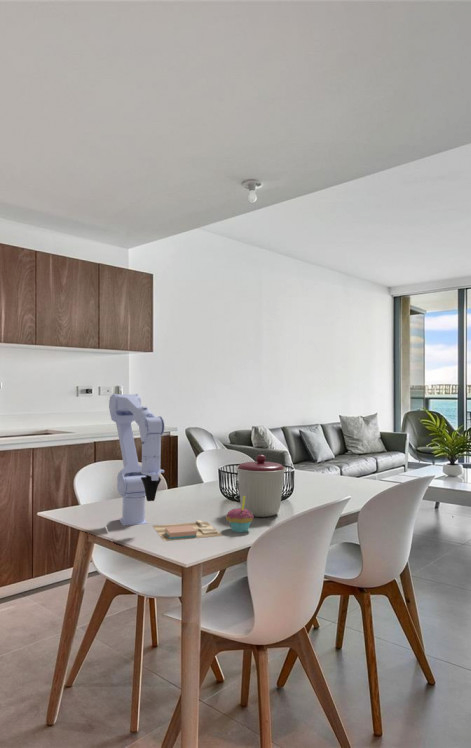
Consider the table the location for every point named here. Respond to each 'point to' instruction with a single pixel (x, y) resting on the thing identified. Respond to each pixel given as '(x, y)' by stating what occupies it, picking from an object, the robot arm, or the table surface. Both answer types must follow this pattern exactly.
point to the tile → (180, 532)
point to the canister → (261, 486)
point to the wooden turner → (205, 528)
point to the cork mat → (161, 528)
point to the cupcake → (240, 518)
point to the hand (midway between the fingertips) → (150, 500)
